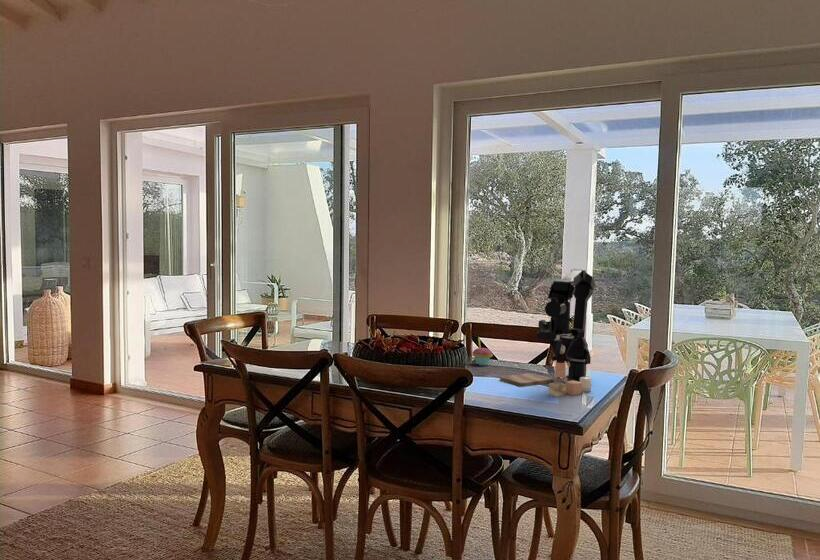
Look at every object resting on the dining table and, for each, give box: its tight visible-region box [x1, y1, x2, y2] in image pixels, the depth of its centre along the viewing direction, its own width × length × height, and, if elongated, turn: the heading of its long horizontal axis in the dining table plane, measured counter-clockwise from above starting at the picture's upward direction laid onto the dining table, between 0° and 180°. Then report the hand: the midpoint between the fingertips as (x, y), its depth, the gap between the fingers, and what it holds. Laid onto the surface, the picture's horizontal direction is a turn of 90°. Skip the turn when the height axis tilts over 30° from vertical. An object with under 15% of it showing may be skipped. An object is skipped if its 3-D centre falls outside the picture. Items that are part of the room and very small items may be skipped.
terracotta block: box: [565, 380, 583, 396], centre depth 231 cm, size 4×4×4 cm
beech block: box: [548, 381, 567, 398], centre depth 228 cm, size 4×4×4 cm
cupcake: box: [472, 335, 494, 366], centre depth 278 cm, size 9×8×12 cm
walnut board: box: [499, 372, 554, 388], centre depth 248 cm, size 16×12×1 cm
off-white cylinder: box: [579, 376, 592, 393], centre depth 235 cm, size 4×4×4 cm
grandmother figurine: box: [549, 345, 570, 382], centre depth 236 cm, size 8×4×13 cm, turn 65°
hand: (560, 357), depth 236 cm, fingers closed on grandmother figurine, 3 cm apart
